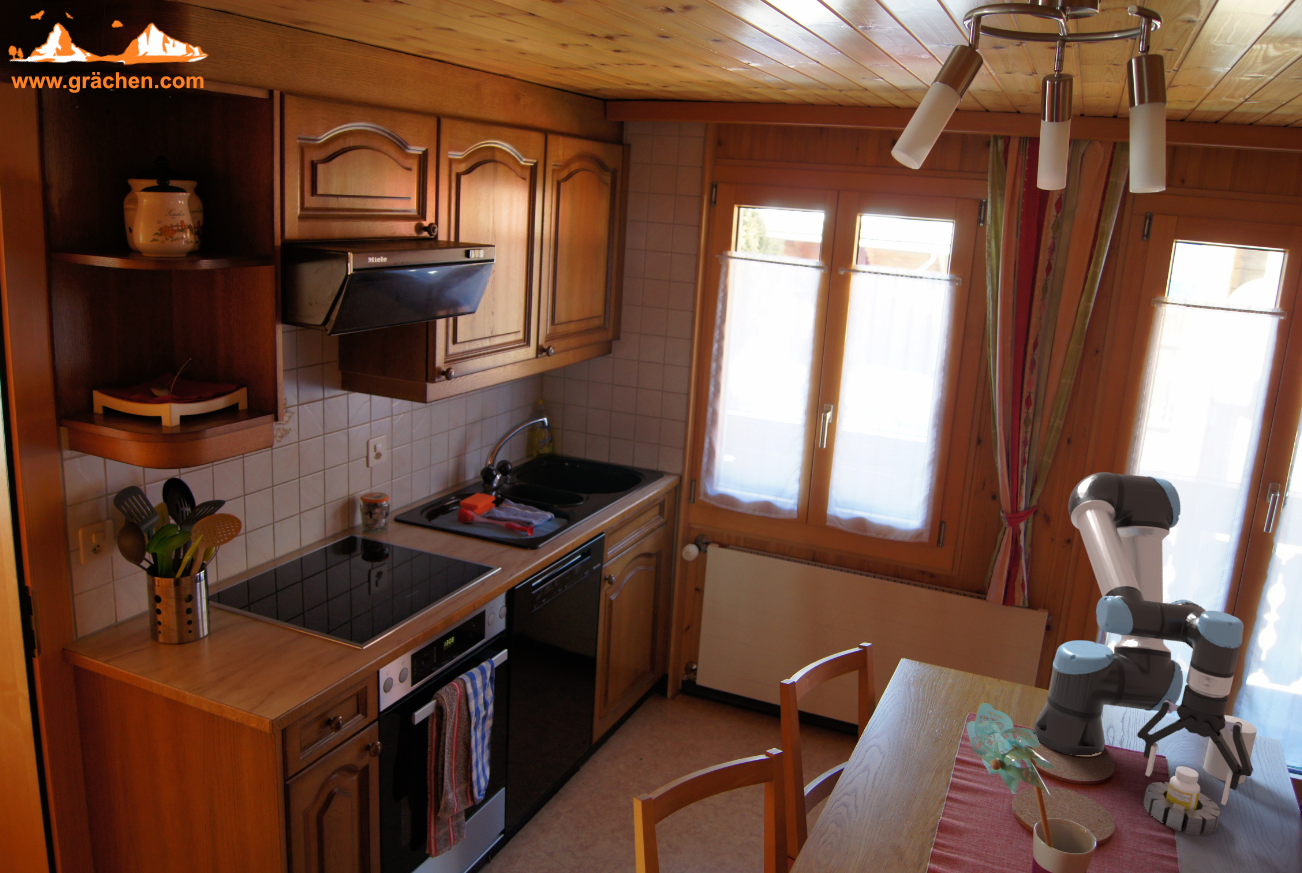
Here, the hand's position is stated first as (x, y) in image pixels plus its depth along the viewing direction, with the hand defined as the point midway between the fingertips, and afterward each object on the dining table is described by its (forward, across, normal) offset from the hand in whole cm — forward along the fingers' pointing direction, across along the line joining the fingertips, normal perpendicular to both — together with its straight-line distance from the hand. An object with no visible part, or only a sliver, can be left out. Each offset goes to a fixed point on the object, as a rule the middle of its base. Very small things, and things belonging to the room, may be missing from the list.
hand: (1185, 787), depth 188 cm
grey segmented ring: (+6, 0, 0) cm, 6 cm away
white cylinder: (+7, +4, +28) cm, 29 cm away
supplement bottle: (+7, 0, 0) cm, 7 cm away
